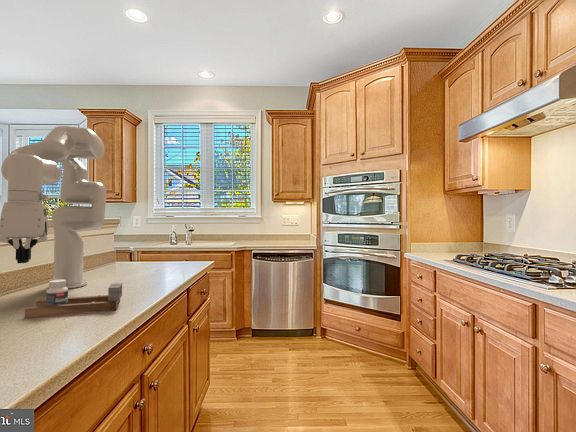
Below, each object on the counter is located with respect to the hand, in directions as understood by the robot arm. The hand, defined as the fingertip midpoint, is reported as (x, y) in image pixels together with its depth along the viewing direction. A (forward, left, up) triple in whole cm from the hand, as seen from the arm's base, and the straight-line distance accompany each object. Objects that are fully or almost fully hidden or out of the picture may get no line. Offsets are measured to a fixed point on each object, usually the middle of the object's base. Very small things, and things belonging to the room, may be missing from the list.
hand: (23, 262), depth 88 cm
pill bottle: (-1, +8, -15) cm, 17 cm away
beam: (-1, +13, -15) cm, 20 cm away
